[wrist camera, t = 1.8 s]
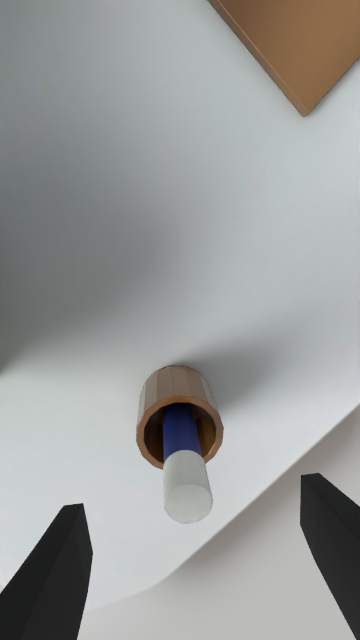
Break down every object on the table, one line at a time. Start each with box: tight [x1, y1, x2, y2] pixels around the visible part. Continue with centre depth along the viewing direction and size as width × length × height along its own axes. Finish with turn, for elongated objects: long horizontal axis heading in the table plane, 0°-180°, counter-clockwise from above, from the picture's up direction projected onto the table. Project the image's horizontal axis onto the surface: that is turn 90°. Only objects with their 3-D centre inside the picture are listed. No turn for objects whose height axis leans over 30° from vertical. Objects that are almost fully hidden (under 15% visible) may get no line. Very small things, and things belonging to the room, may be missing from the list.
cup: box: [136, 366, 224, 470], centre depth 18 cm, size 5×5×4 cm
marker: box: [162, 402, 213, 524], centre depth 16 cm, size 2×2×8 cm
